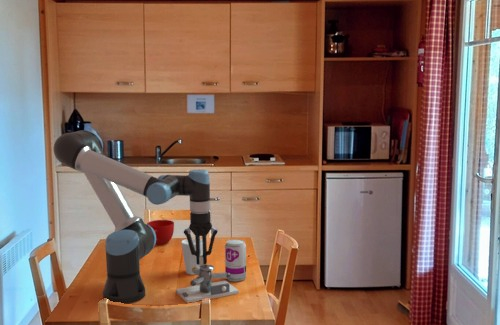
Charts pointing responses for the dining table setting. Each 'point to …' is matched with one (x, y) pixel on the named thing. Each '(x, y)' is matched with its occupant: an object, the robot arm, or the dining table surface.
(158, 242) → the ceramic cup
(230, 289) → the stand
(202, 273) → the capstan
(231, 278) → the supplement can
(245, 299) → the dining table surface
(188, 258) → the foam cup
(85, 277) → the dining table surface
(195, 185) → the robot arm
